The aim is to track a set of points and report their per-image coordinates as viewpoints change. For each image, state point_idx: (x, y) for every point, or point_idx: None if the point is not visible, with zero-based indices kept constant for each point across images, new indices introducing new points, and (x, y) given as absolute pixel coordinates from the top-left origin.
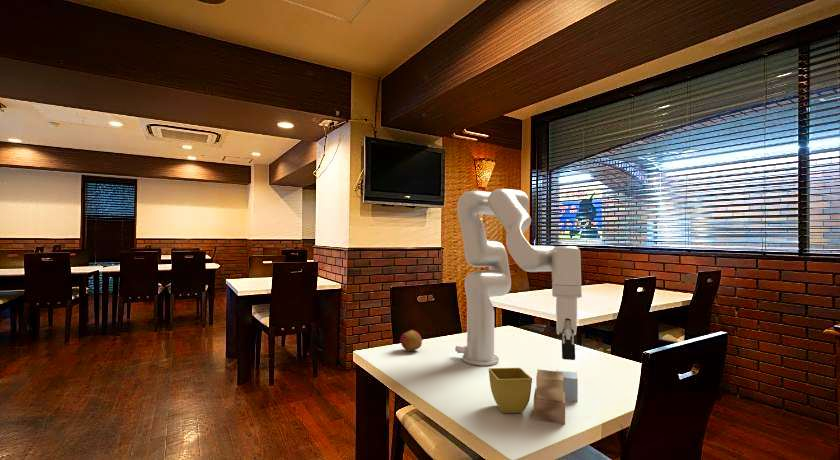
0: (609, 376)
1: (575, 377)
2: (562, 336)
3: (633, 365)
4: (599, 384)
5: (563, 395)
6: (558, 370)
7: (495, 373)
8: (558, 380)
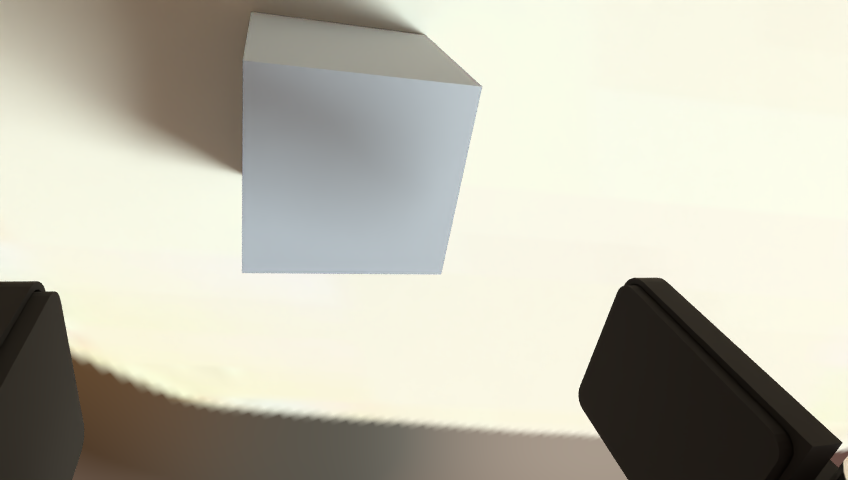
0: None
1: (284, 258)
2: (792, 447)
3: None
4: (586, 318)
5: None
6: (474, 115)
7: None
8: None
